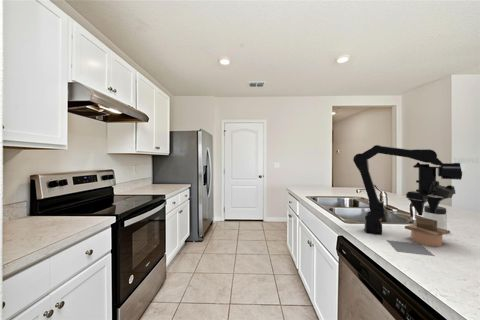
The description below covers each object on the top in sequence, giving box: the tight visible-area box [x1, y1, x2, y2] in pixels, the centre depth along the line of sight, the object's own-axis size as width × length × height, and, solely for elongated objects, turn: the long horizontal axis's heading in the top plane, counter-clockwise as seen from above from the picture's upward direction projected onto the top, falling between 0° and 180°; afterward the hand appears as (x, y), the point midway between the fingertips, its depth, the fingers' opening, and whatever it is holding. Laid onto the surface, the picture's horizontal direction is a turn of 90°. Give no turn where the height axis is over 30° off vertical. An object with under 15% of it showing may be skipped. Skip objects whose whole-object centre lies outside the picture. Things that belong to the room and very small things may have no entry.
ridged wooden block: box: [404, 216, 451, 237], centre depth 92 cm, size 11×11×5 cm
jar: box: [422, 204, 448, 230], centre depth 106 cm, size 9×8×12 cm
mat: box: [386, 239, 436, 257], centre depth 86 cm, size 12×12×1 cm
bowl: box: [410, 230, 444, 247], centre depth 93 cm, size 10×10×5 cm
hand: (426, 214), depth 92 cm, fingers open, 9 cm apart
